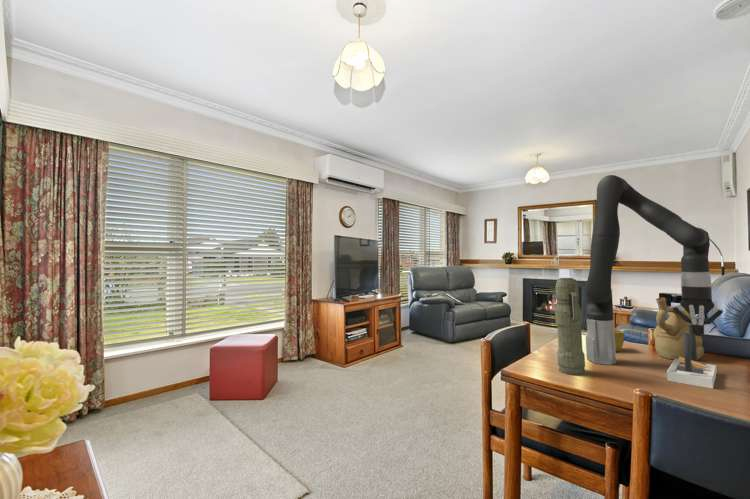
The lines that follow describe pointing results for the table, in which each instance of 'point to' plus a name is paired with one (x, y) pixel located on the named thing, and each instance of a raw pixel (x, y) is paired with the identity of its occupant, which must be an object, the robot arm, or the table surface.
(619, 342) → the flower pot
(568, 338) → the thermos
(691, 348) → the dark grey rod
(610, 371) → the table surface
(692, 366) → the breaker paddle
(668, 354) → the ceramic vessel
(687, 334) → the dark grey peg
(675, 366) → the breaker board
